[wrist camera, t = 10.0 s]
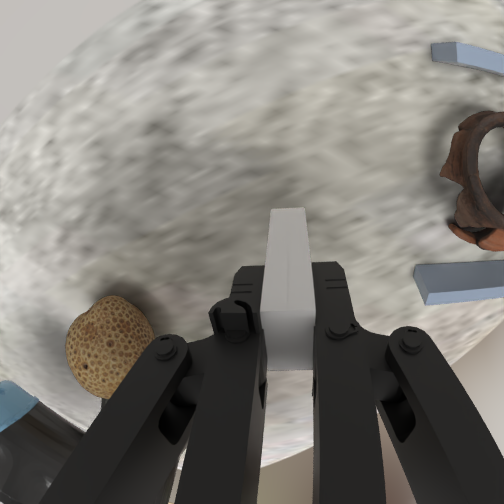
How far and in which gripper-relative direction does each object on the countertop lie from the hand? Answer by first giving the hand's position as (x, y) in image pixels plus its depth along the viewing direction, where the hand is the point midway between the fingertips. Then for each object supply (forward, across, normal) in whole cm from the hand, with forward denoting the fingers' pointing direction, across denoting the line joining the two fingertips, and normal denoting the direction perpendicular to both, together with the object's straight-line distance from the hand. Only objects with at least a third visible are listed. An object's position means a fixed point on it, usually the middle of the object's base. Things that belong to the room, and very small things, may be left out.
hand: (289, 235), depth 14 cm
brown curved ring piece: (+7, -15, 0) cm, 17 cm away
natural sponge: (+8, +16, +12) cm, 22 cm away
